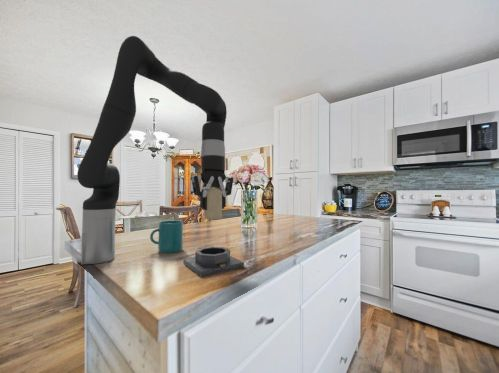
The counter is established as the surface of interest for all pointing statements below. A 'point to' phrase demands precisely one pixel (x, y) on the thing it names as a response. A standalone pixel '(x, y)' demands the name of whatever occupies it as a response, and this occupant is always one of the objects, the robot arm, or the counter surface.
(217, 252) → the mount
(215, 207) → the candle
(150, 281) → the counter surface
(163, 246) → the cup
